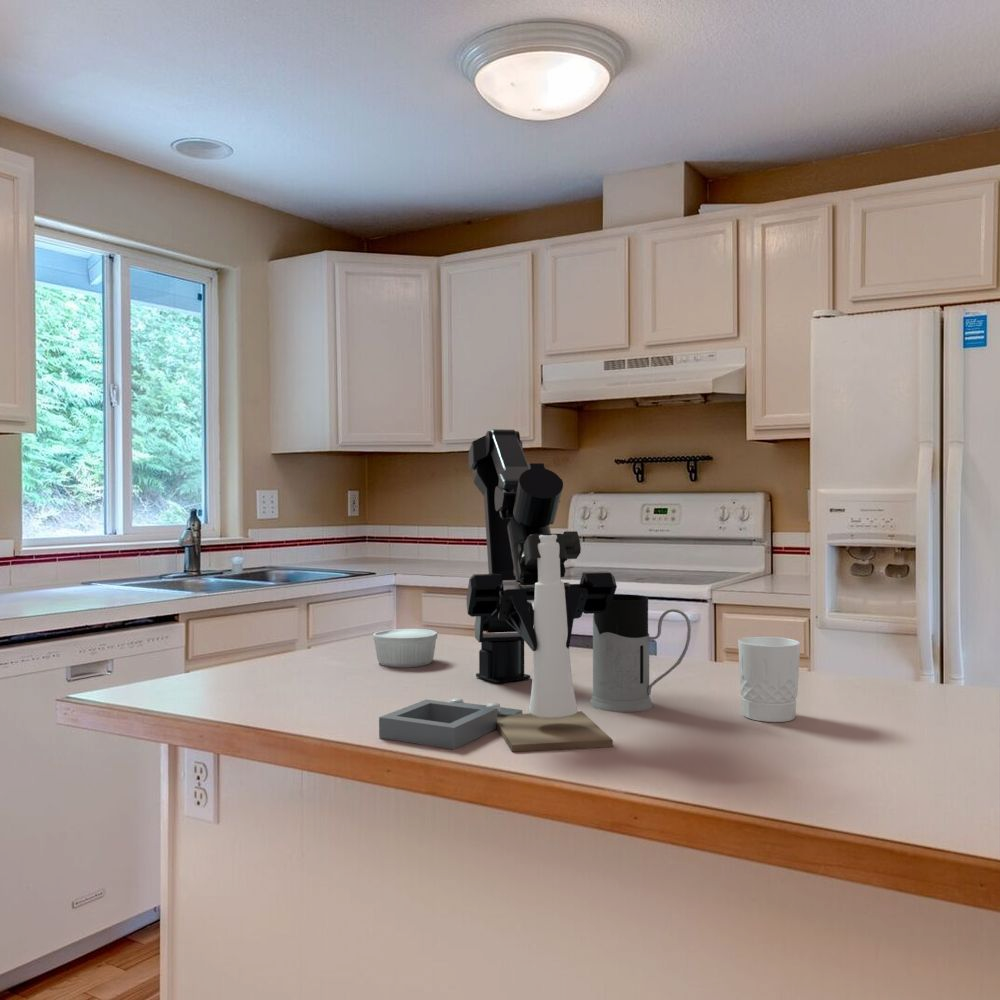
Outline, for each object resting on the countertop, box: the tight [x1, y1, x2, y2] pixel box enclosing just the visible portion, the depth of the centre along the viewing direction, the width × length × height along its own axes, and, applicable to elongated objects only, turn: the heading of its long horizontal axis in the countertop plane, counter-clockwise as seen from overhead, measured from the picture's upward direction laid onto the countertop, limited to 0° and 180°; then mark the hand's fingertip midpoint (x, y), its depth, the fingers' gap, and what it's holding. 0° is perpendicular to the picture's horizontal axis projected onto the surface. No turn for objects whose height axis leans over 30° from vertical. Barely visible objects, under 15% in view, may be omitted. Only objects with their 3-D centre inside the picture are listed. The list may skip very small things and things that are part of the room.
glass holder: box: [589, 593, 692, 713], centre depth 128 cm, size 9×14×15 cm, turn 64°
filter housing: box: [378, 697, 523, 750], centre depth 117 cm, size 18×11×2 cm, turn 152°
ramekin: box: [372, 628, 438, 668], centre depth 160 cm, size 11×11×5 cm
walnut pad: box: [497, 710, 614, 753], centre depth 114 cm, size 14×12×1 cm
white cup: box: [737, 635, 801, 723], centre depth 122 cm, size 8×8×10 cm
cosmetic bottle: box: [528, 535, 579, 718], centre depth 114 cm, size 6×6×22 cm
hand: (551, 648), depth 112 cm, fingers closed on cosmetic bottle, 4 cm apart
